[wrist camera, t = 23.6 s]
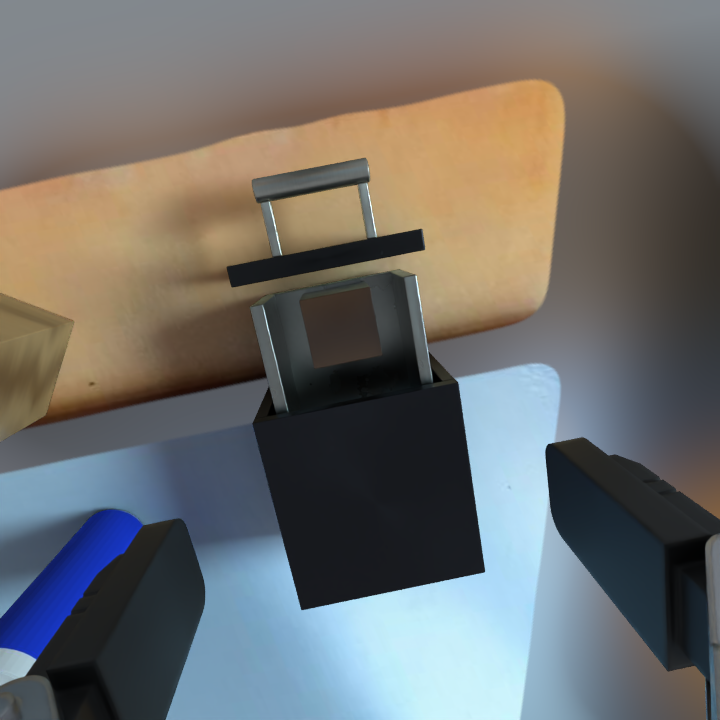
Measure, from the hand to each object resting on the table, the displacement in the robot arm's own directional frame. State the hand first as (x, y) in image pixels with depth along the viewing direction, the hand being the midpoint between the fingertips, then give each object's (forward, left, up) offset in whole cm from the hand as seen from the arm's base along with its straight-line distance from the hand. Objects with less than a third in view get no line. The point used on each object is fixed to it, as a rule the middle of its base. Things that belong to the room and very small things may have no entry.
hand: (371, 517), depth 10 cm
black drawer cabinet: (+9, +6, -27) cm, 28 cm away
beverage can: (+24, -10, -27) cm, 37 cm away
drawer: (-2, -1, -26) cm, 26 cm away
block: (-1, 0, -25) cm, 25 cm away
